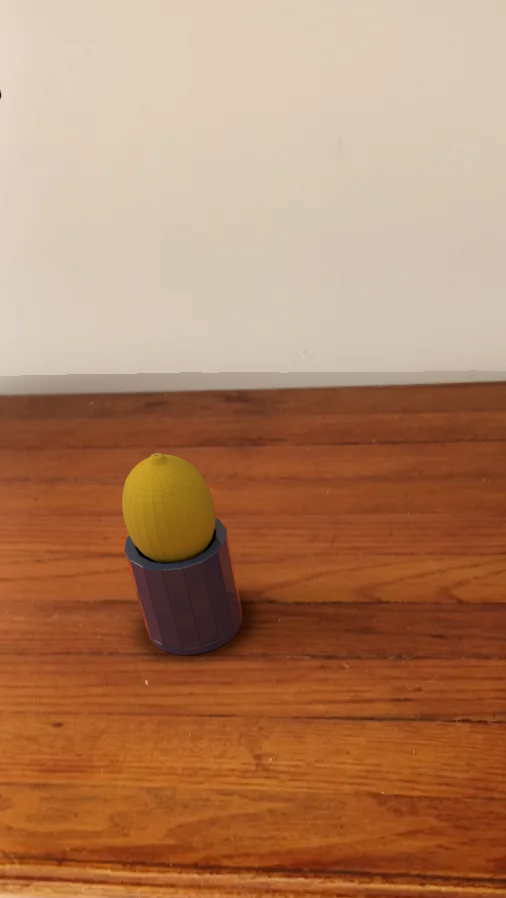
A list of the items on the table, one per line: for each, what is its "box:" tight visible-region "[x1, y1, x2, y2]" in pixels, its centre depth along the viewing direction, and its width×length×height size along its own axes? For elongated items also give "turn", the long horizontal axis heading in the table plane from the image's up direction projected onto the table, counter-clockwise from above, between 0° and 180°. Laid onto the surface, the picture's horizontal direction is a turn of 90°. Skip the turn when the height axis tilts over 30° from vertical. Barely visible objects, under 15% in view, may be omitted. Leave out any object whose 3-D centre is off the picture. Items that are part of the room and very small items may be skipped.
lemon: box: [121, 452, 216, 564], centre depth 59 cm, size 6×6×8 cm
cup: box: [123, 516, 244, 656], centre depth 63 cm, size 6×6×7 cm
